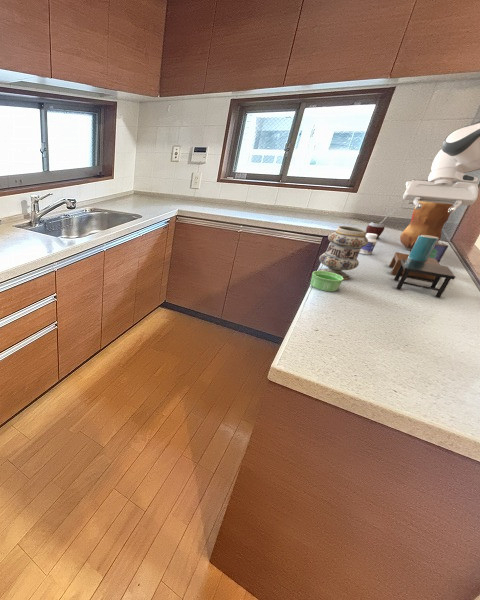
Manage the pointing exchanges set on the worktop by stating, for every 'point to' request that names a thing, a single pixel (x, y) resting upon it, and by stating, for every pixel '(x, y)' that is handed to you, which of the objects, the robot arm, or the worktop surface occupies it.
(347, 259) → the apothecary jar
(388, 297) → the worktop surface
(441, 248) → the flask
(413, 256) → the cup
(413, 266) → the dark brown wooden table
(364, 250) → the pill bottle
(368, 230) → the mate gourd
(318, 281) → the ramekin
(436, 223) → the butternut squash
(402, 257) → the brown display stand
